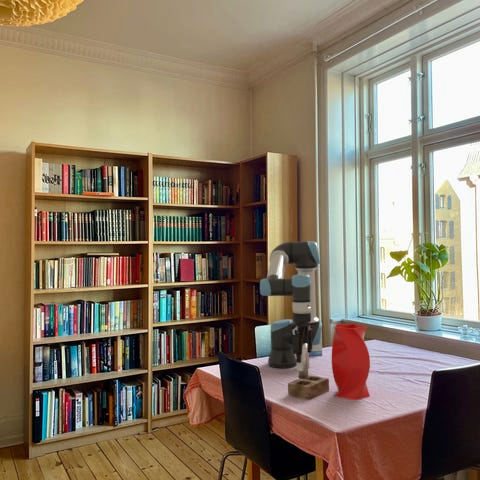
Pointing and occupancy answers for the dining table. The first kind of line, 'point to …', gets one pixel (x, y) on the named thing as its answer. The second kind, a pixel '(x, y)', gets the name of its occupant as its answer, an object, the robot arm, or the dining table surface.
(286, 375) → the dining table surface
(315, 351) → the ink box
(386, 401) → the dining table surface
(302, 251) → the robot arm
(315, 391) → the block
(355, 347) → the vase
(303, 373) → the pin
